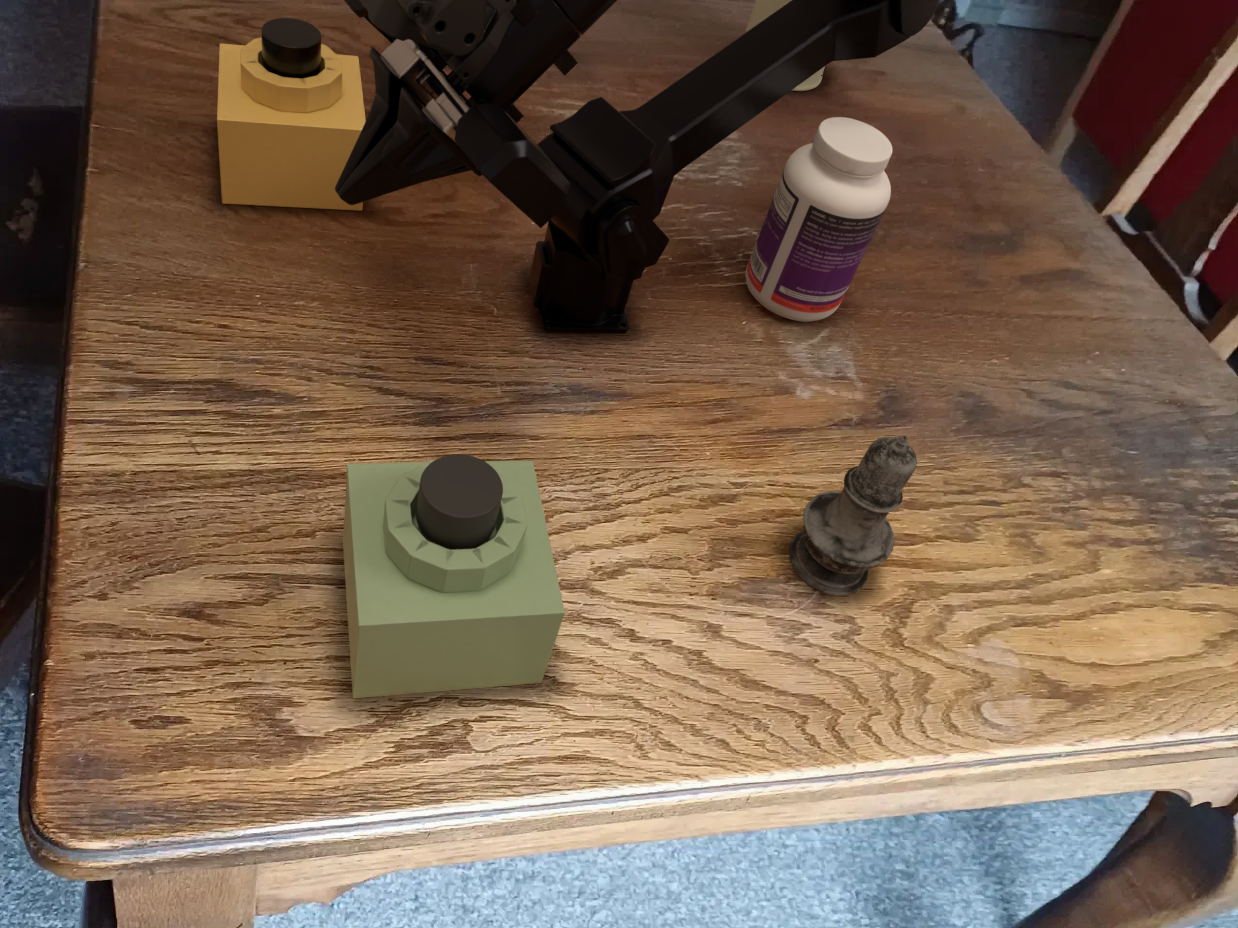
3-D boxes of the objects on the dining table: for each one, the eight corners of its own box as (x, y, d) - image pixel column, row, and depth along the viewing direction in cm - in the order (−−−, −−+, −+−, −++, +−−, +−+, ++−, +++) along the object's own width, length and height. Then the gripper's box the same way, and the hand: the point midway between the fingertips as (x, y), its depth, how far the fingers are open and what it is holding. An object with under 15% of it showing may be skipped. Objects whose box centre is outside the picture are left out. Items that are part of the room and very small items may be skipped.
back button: (319, 54, 79) (320, 21, 77) (321, 83, 76) (322, 50, 74) (262, 48, 78) (261, 15, 76) (262, 78, 75) (261, 44, 73)
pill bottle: (855, 304, 88) (931, 152, 77) (799, 342, 83) (873, 185, 72) (779, 249, 90) (843, 96, 80) (721, 283, 86) (781, 124, 75)
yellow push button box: (354, 135, 88) (359, 31, 81) (362, 211, 82) (368, 105, 75) (224, 126, 85) (218, 17, 78) (222, 203, 79) (215, 93, 72)
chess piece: (870, 611, 67) (956, 489, 58) (780, 583, 67) (853, 457, 58) (873, 539, 71) (954, 416, 62) (788, 514, 71) (857, 386, 62)
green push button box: (514, 535, 65) (538, 435, 58) (541, 683, 59) (572, 590, 52) (342, 542, 62) (348, 437, 55) (352, 698, 56) (360, 601, 49)
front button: (490, 485, 56) (497, 453, 54) (501, 547, 53) (508, 516, 51) (412, 487, 54) (416, 454, 53) (419, 551, 52) (424, 519, 50)
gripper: (377, -198, 55) (174, 23, 58) (557, -16, 46) (307, 236, 49) (493, -51, 65) (314, 133, 67) (661, 123, 56) (447, 326, 58)
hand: (342, 198), depth 60 cm, fingers closed
